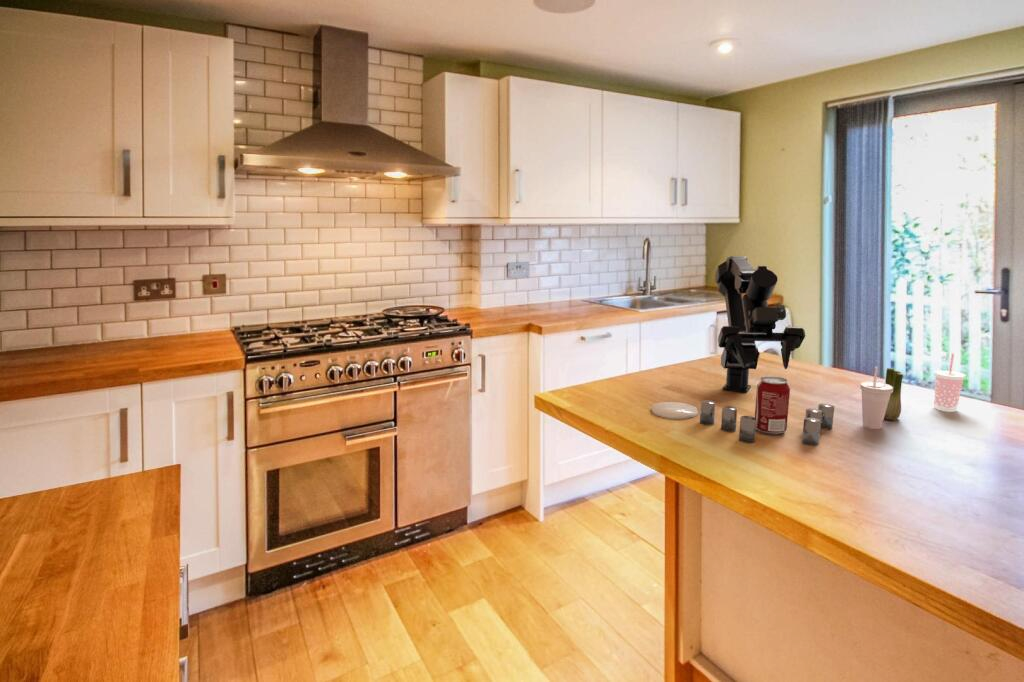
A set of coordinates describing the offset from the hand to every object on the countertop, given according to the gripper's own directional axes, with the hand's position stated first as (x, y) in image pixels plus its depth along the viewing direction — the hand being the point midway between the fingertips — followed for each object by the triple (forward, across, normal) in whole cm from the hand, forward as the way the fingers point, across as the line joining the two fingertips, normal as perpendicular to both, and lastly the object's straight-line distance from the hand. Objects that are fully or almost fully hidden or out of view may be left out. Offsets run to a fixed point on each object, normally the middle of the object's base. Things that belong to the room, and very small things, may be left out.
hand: (765, 367), depth 141 cm
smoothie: (+10, +24, +8) cm, 27 cm away
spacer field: (+15, 0, +3) cm, 15 cm away
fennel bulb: (+6, +30, +12) cm, 33 cm away
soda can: (+14, 0, +4) cm, 15 cm away
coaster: (+6, -20, +12) cm, 24 cm away
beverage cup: (0, +47, +19) cm, 50 cm away
